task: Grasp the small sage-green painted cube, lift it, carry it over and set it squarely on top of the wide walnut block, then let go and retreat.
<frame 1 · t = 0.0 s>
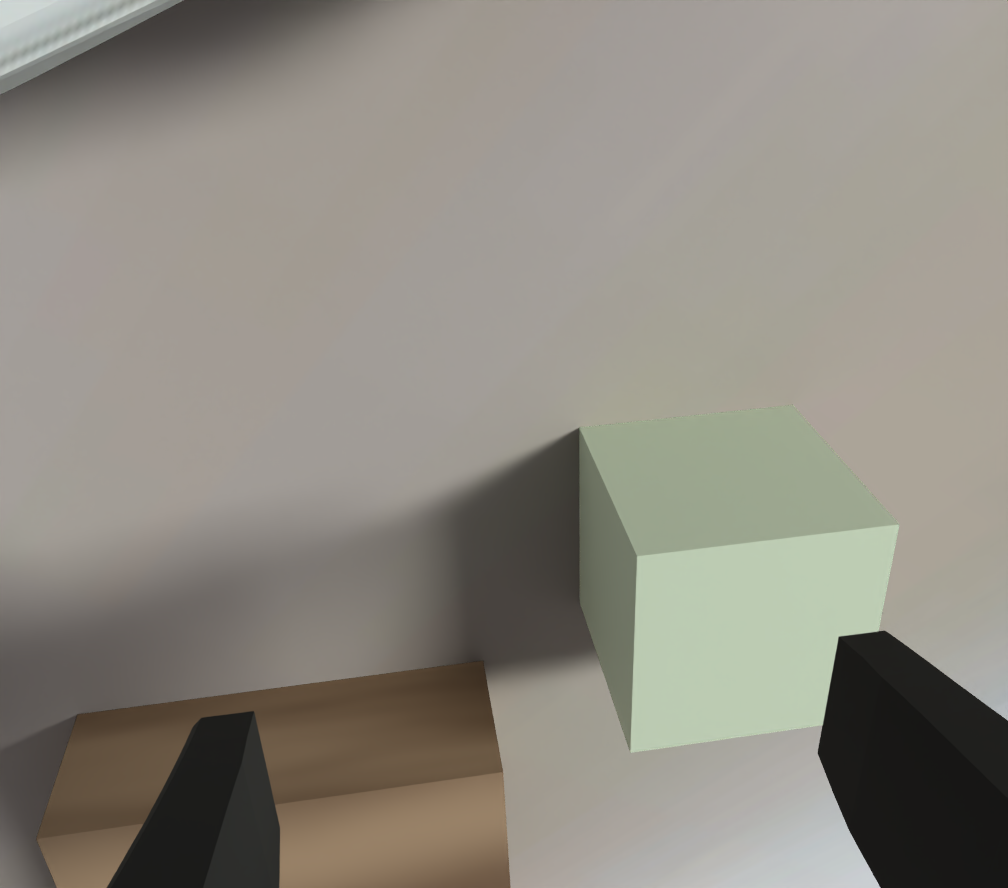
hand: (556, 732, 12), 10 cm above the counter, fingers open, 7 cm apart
walnut block: (313, 811, 27), on the counter
sage cube: (680, 506, 23), on the counter
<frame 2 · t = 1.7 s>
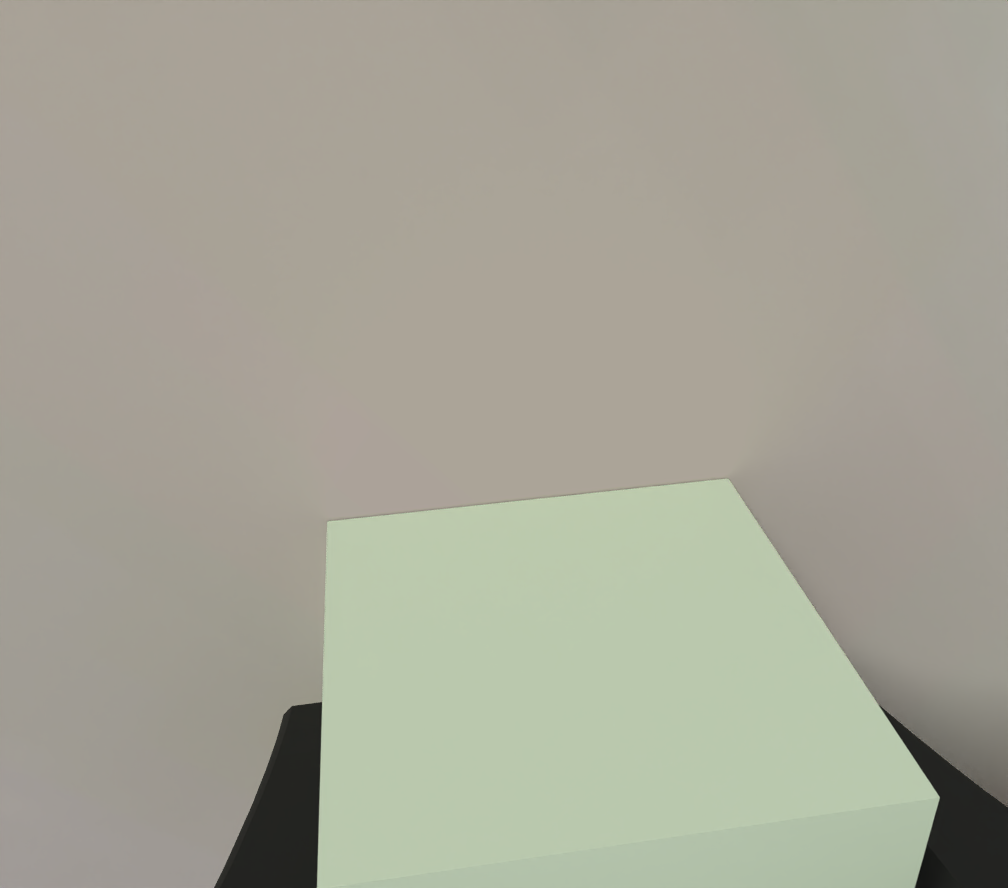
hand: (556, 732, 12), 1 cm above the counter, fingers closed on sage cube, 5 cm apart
sage cube: (535, 653, 13), on the counter, touching gripper
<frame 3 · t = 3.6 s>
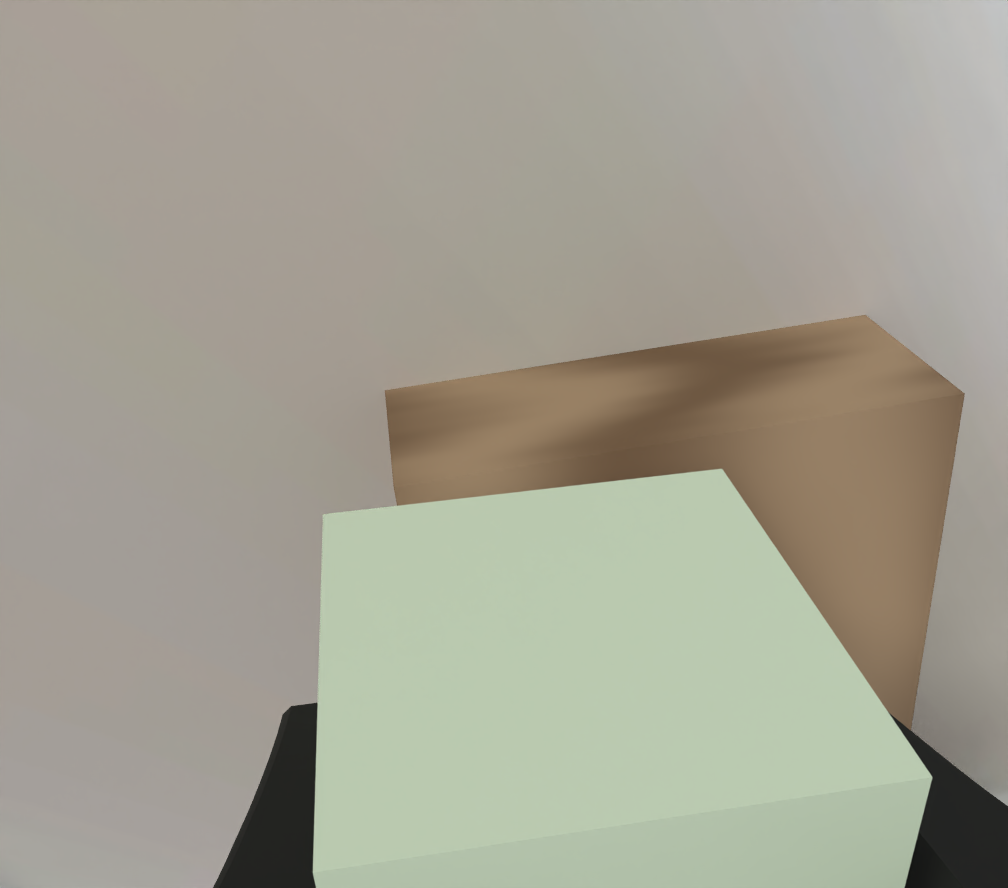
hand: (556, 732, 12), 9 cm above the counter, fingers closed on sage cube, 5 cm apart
walnut block: (633, 541, 22), on the counter
sage cube: (532, 646, 13), point 7 cm above the counter, touching gripper
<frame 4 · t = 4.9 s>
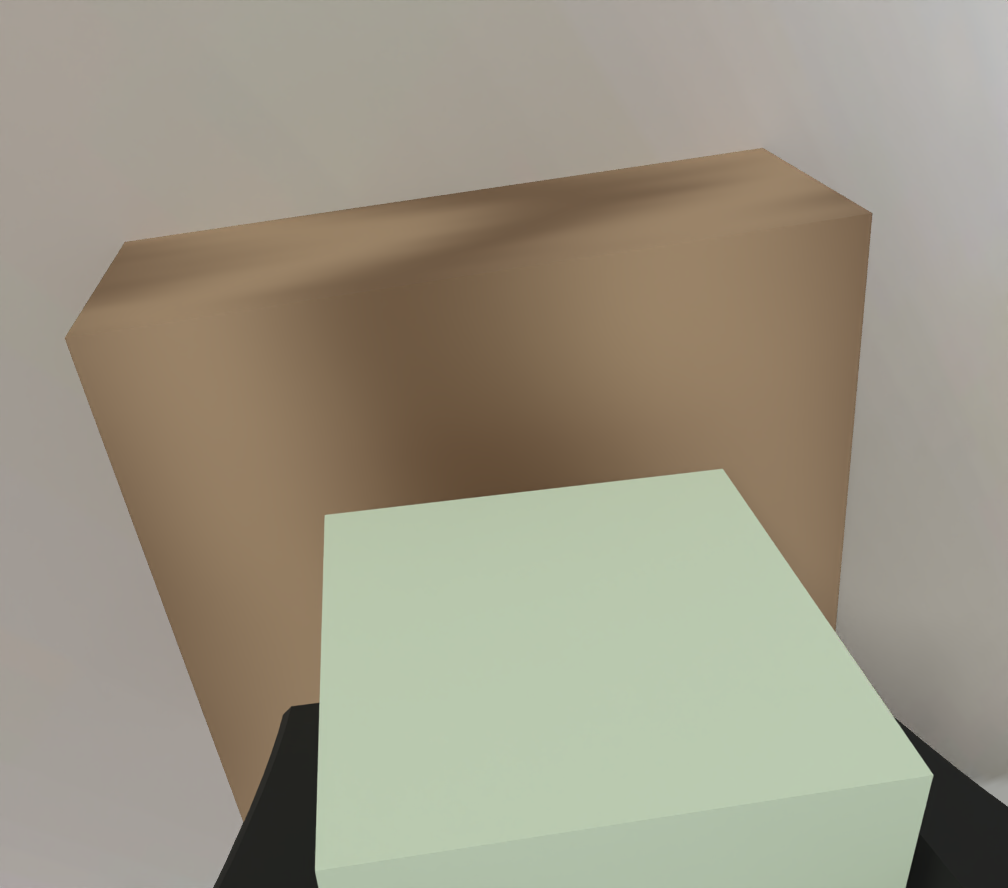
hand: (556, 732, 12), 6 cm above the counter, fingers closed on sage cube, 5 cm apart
walnut block: (486, 457, 18), on the counter
sage cube: (533, 646, 13), point 5 cm above the counter, touching gripper
when the fingers open (6 cm above the counter, at t = 5.6 s): sage cube drops 1 cm, resting on walnut block.
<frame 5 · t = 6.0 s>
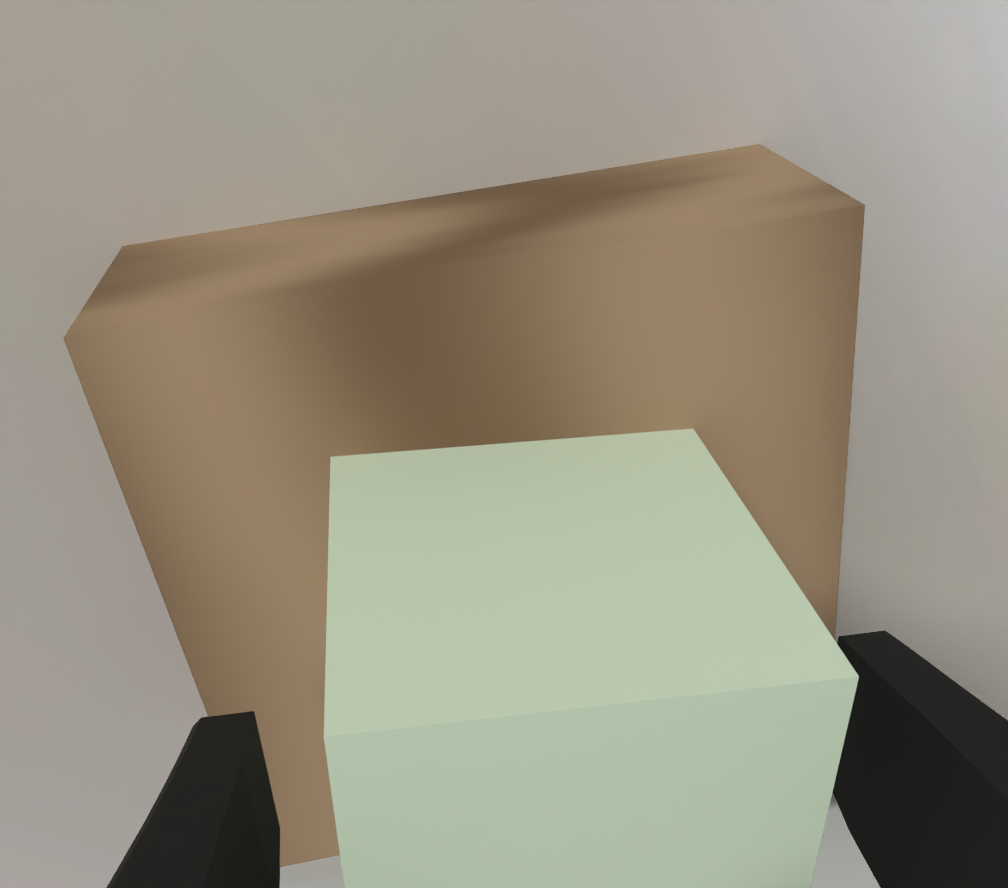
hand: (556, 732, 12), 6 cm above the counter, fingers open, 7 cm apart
walnut block: (486, 455, 18), on the counter, touching sage cube
sage cube: (516, 588, 14), point 4 cm above the counter, touching walnut block
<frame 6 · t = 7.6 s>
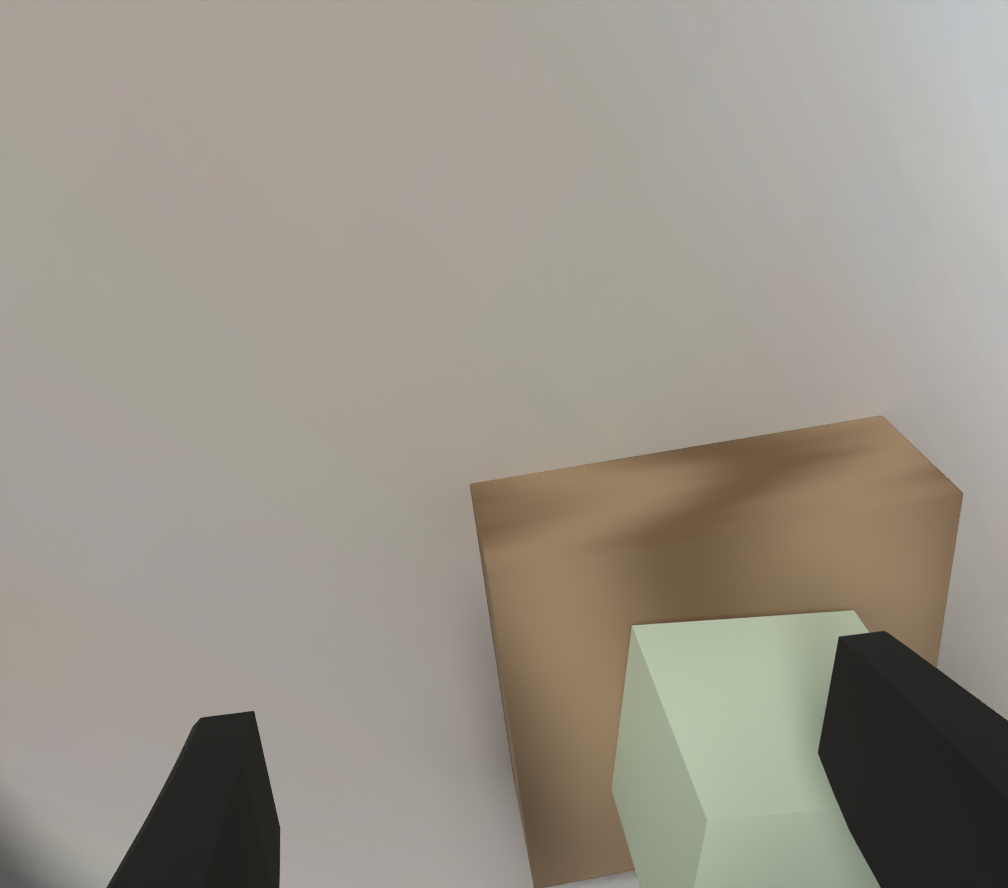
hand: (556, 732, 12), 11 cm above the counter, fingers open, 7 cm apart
walnut block: (677, 602, 26), on the counter
sage cube: (727, 703, 22), point 4 cm above the counter
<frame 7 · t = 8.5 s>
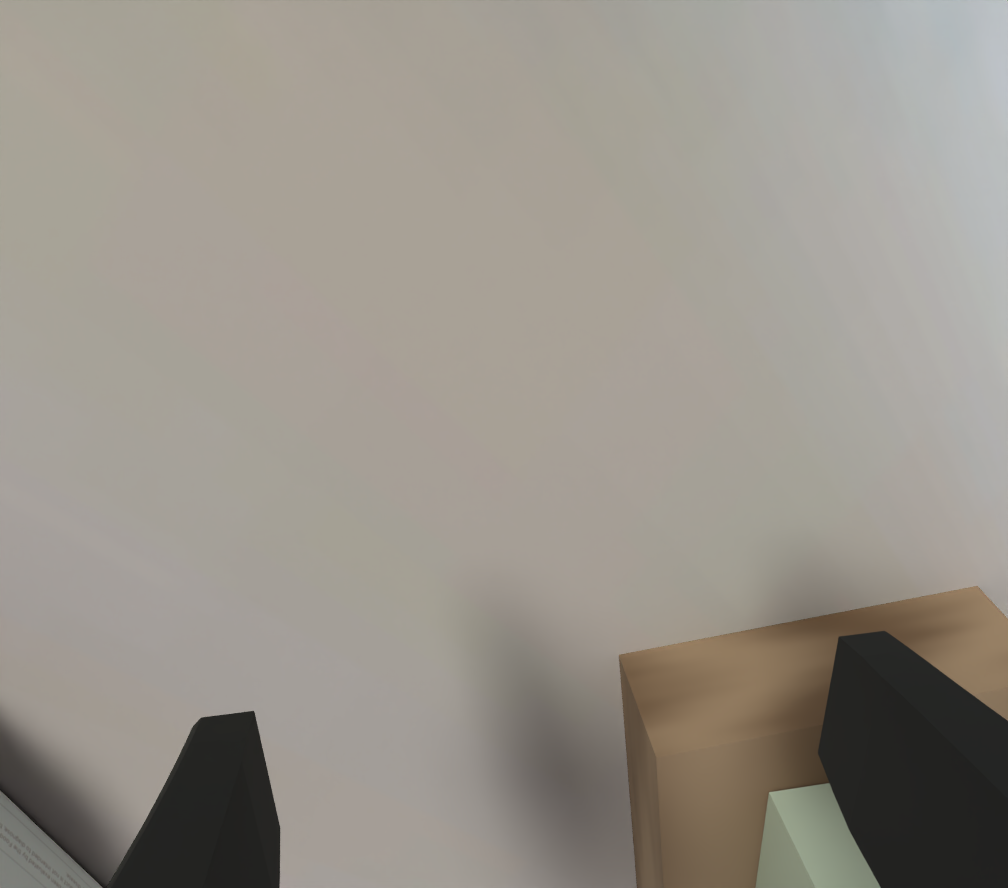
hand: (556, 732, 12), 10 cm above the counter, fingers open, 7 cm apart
walnut block: (788, 738, 29), on the counter, touching sage cube
sage cube: (851, 844, 25), point 4 cm above the counter, touching walnut block
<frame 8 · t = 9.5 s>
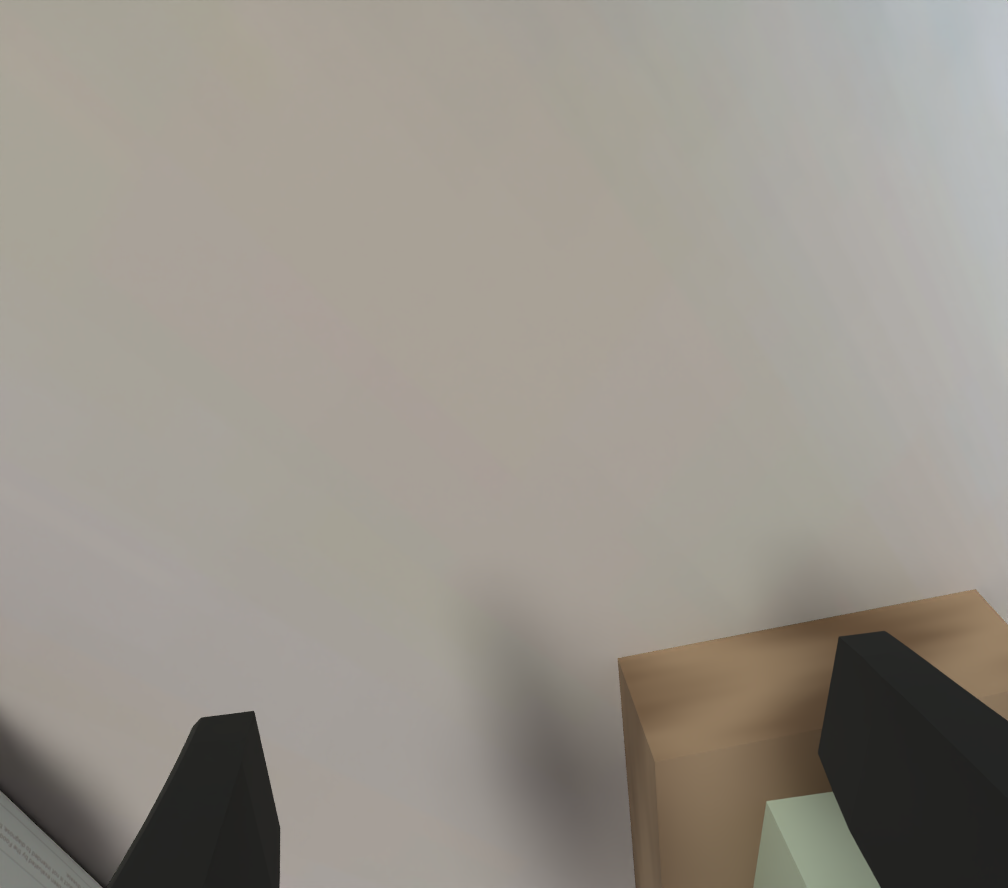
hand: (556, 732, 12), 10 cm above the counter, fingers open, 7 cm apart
walnut block: (786, 741, 29), on the counter, touching sage cube
sage cube: (847, 853, 25), point 4 cm above the counter, touching walnut block
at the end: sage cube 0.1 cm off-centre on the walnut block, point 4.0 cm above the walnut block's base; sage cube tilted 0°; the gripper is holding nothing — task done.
